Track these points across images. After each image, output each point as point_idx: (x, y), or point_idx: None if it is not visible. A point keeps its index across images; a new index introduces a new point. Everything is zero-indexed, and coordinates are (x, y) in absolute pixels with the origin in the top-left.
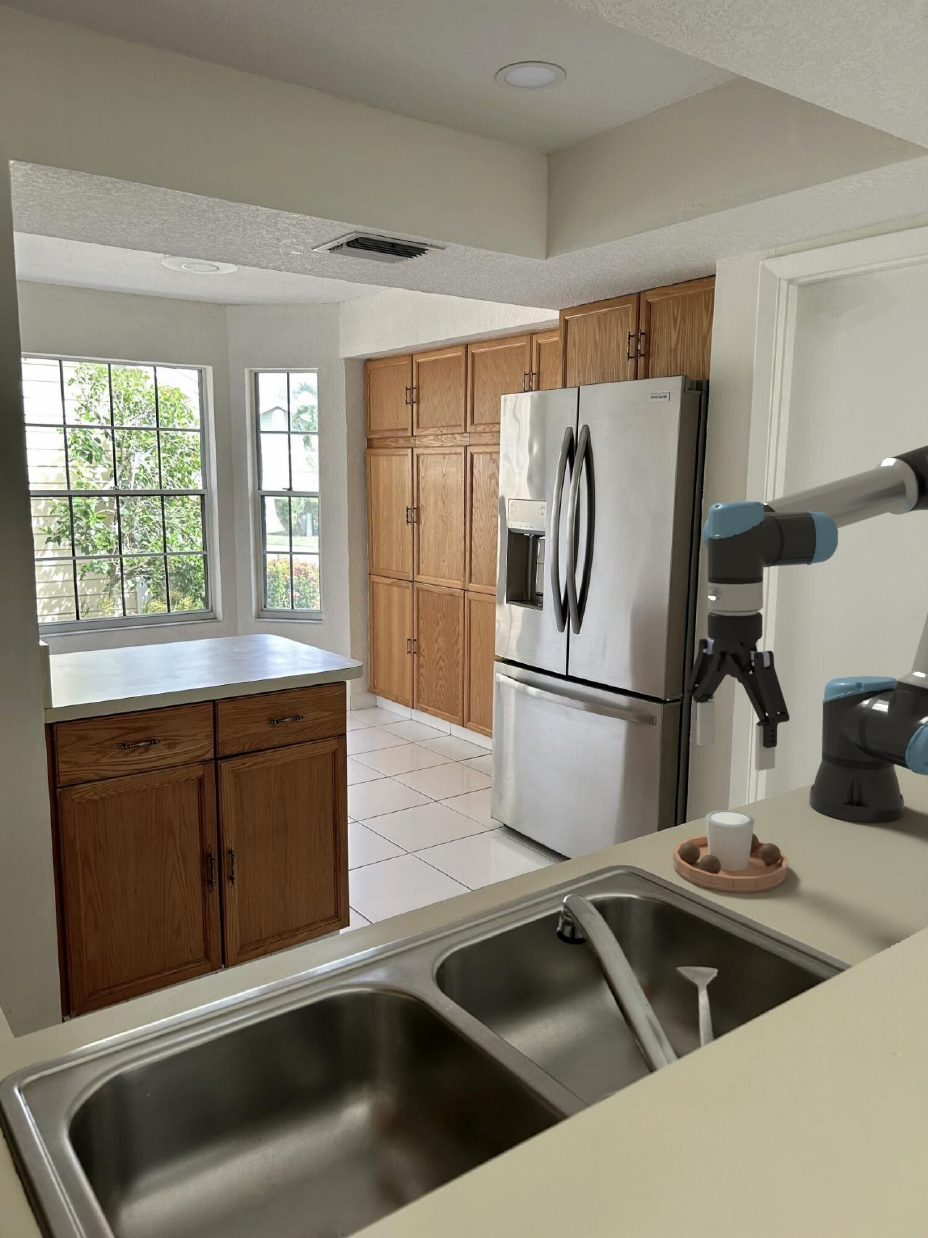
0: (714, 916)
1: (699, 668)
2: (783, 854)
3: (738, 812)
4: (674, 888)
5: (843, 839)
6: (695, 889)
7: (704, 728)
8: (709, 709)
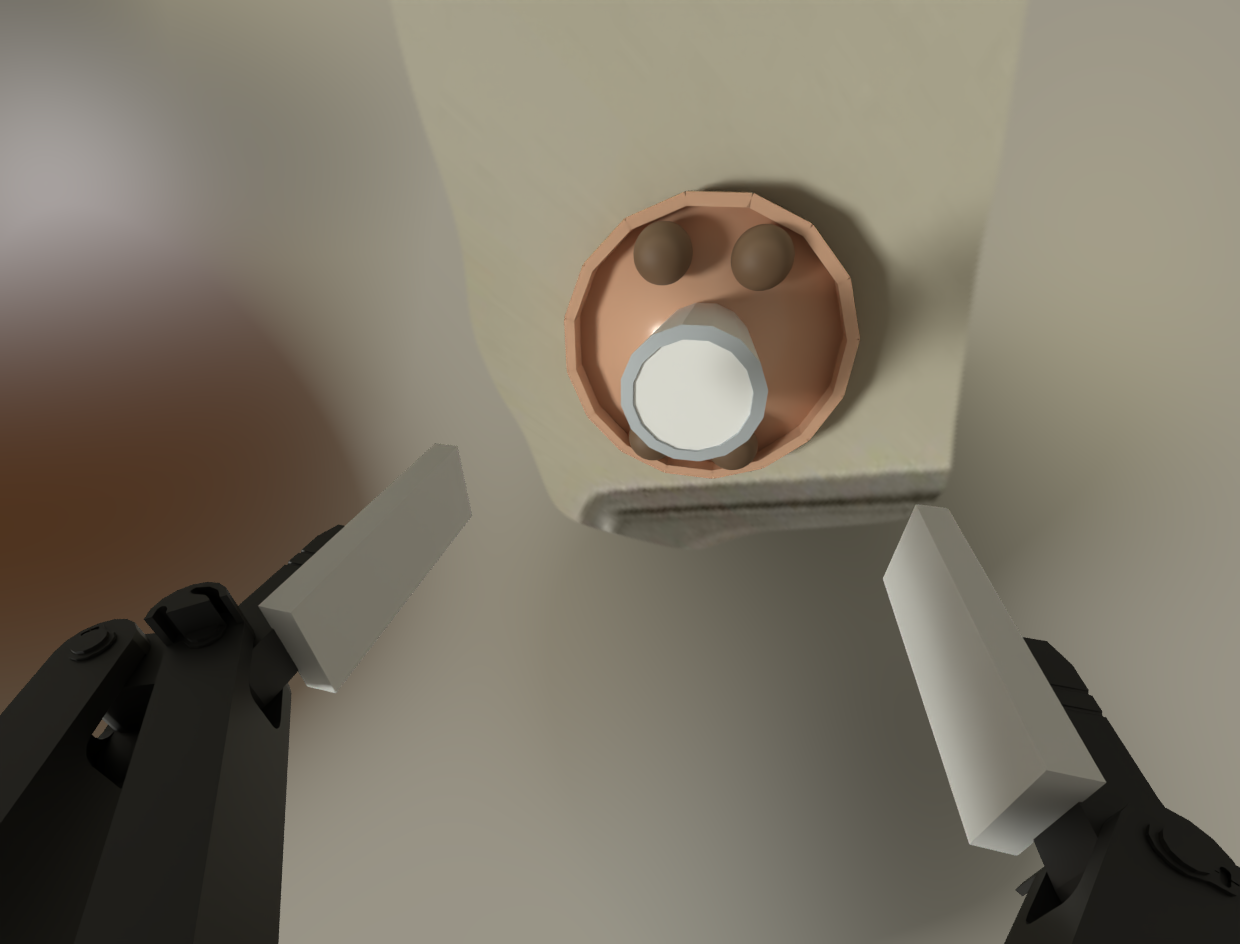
0: (853, 515)
1: None
2: (779, 210)
3: (667, 344)
4: (717, 497)
5: None
6: None
7: (425, 548)
8: (346, 603)
